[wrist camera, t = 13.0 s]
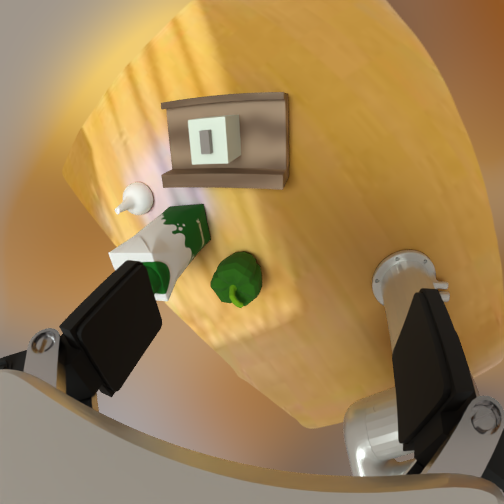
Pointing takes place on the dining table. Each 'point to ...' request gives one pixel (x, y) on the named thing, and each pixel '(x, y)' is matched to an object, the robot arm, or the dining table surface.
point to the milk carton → (166, 246)
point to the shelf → (251, 137)
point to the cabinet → (214, 139)
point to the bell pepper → (237, 279)
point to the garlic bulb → (136, 199)
